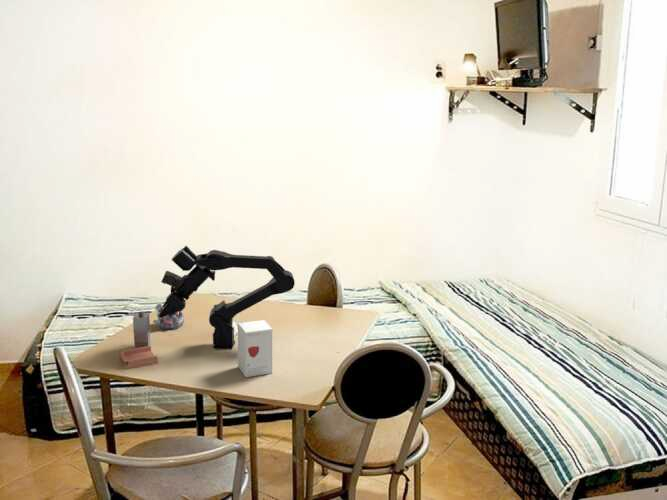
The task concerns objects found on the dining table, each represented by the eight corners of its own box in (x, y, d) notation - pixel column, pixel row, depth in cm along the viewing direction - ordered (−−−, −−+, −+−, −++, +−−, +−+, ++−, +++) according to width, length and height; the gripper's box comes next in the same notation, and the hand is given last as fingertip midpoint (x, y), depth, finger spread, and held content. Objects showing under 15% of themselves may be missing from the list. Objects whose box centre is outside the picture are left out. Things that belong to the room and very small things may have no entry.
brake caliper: (180, 326, 227) (160, 300, 226) (159, 341, 230) (140, 315, 230) (194, 316, 238) (175, 291, 237) (174, 331, 241) (155, 305, 240)
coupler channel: (150, 352, 209) (150, 345, 209) (157, 363, 201) (157, 356, 200) (119, 357, 205) (119, 350, 204) (125, 369, 196) (125, 361, 196)
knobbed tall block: (150, 345, 215) (148, 309, 212) (148, 351, 211) (146, 314, 208) (137, 345, 215) (135, 310, 212) (134, 351, 210) (132, 315, 207)
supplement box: (245, 378, 192) (244, 332, 188) (237, 366, 200) (236, 322, 196) (273, 373, 195) (273, 328, 192) (264, 362, 203) (264, 319, 200)
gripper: (178, 257, 216) (147, 288, 217) (172, 271, 198) (138, 305, 199) (202, 278, 219) (171, 309, 220) (198, 294, 201) (164, 327, 202)
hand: (161, 311), depth 211 cm, fingers open, 9 cm apart
